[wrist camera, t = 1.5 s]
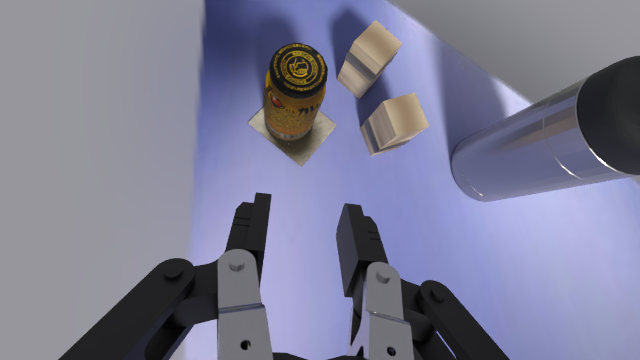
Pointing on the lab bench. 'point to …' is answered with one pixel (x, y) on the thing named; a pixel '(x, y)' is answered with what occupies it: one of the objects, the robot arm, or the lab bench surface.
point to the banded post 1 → (368, 58)
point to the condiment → (294, 102)
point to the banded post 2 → (393, 124)
